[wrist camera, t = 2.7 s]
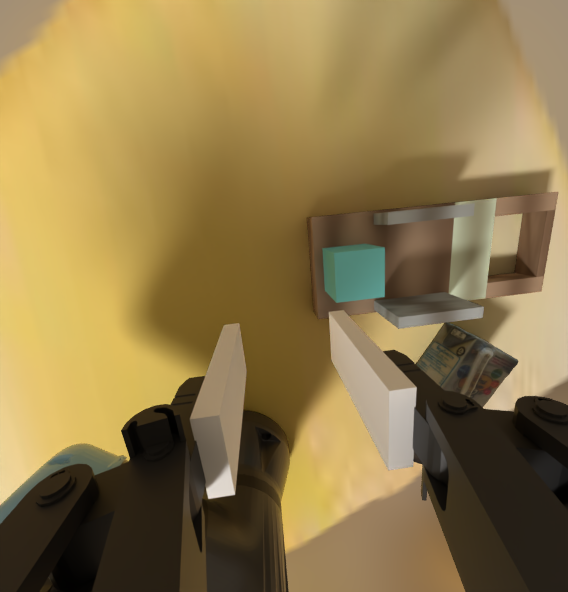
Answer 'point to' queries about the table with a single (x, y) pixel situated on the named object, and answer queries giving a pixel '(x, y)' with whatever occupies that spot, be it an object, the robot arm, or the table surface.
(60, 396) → the table surface
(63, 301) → the table surface
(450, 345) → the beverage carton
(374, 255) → the teal block
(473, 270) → the brown piece
